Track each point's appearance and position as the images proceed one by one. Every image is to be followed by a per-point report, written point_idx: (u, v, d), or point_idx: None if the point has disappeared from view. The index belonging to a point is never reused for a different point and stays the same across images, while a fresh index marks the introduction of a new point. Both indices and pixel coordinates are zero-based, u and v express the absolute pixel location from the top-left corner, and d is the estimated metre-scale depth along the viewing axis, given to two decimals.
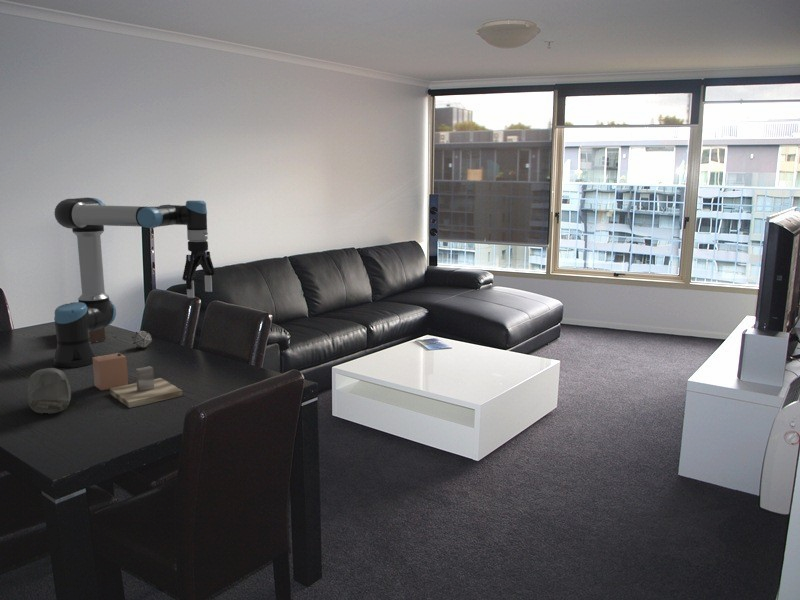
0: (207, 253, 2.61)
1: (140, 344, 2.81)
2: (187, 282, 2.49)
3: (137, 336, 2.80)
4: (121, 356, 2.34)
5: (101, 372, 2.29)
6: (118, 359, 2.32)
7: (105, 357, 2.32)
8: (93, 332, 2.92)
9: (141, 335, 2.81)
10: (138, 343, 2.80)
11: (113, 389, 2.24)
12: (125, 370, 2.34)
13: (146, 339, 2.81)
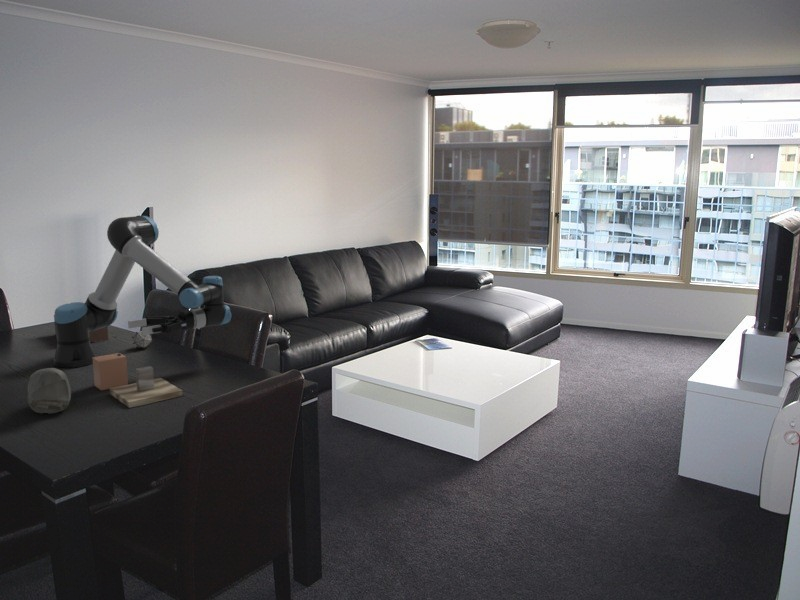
0: None
1: (140, 344, 2.81)
2: (160, 328, 2.35)
3: (137, 336, 2.80)
4: (121, 356, 2.34)
5: (101, 372, 2.29)
6: (118, 359, 2.32)
7: (105, 357, 2.32)
8: (96, 331, 2.93)
9: (141, 335, 2.81)
10: (138, 343, 2.80)
11: (113, 389, 2.24)
12: (125, 370, 2.34)
13: (146, 339, 2.81)
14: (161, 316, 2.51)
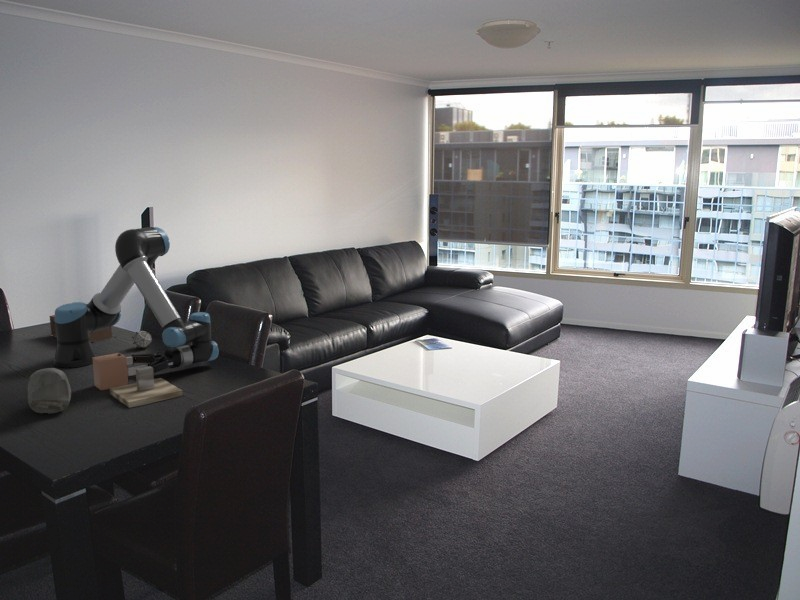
0: None
1: (140, 344, 2.81)
2: None
3: (137, 336, 2.80)
4: (121, 356, 2.34)
5: (101, 372, 2.29)
6: (118, 359, 2.32)
7: (105, 357, 2.32)
8: (101, 330, 2.95)
9: (141, 335, 2.81)
10: (138, 343, 2.80)
11: (113, 389, 2.24)
12: (125, 370, 2.34)
13: (146, 339, 2.81)
14: None
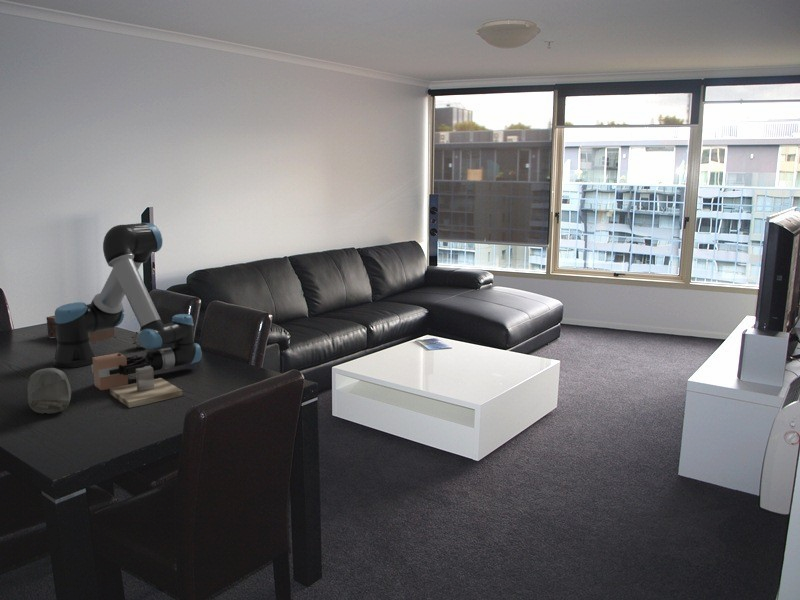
0: None
1: (140, 344, 2.81)
2: (118, 370, 2.31)
3: (137, 336, 2.80)
4: (121, 356, 2.34)
5: None
6: (118, 359, 2.32)
7: (105, 357, 2.32)
8: None
9: None
10: (138, 343, 2.80)
11: (113, 389, 2.24)
12: None
13: None
14: (127, 357, 2.43)
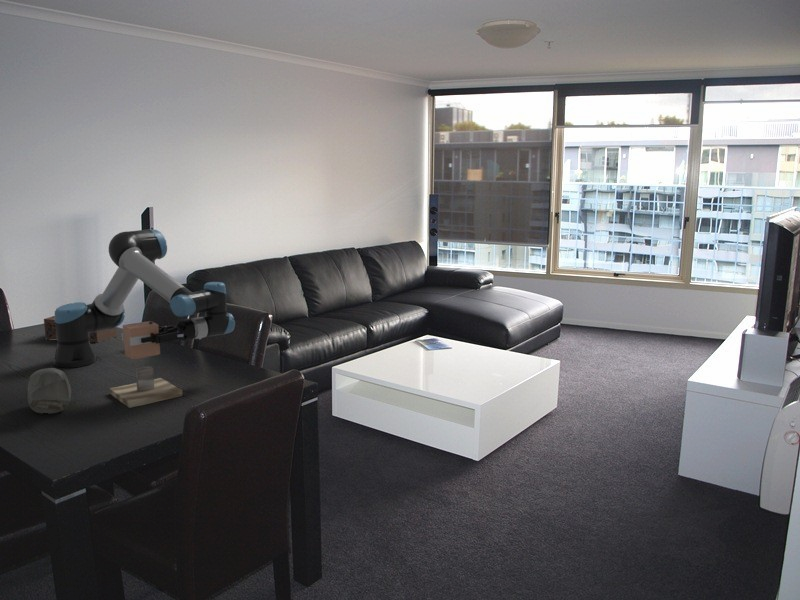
0: None
1: None
2: (150, 338, 2.18)
3: None
4: (153, 324, 2.22)
5: None
6: (150, 327, 2.20)
7: (136, 325, 2.20)
8: None
9: None
10: None
11: (113, 389, 2.24)
12: None
13: None
14: None
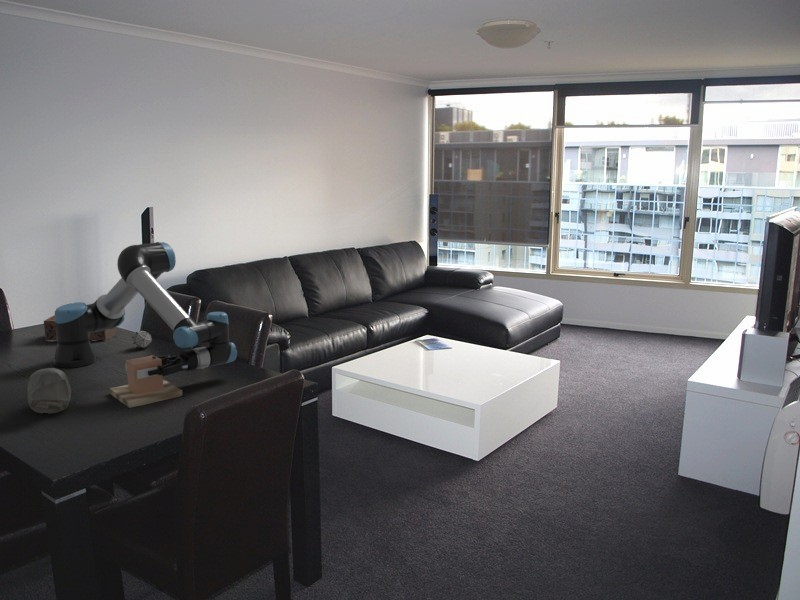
0: None
1: (140, 344, 2.81)
2: (157, 371, 2.20)
3: (137, 336, 2.80)
4: (156, 359, 2.24)
5: (136, 376, 2.18)
6: (153, 362, 2.22)
7: (139, 360, 2.22)
8: None
9: (141, 335, 2.81)
10: (138, 343, 2.80)
11: (113, 389, 2.24)
12: None
13: (146, 339, 2.81)
14: (161, 356, 2.34)
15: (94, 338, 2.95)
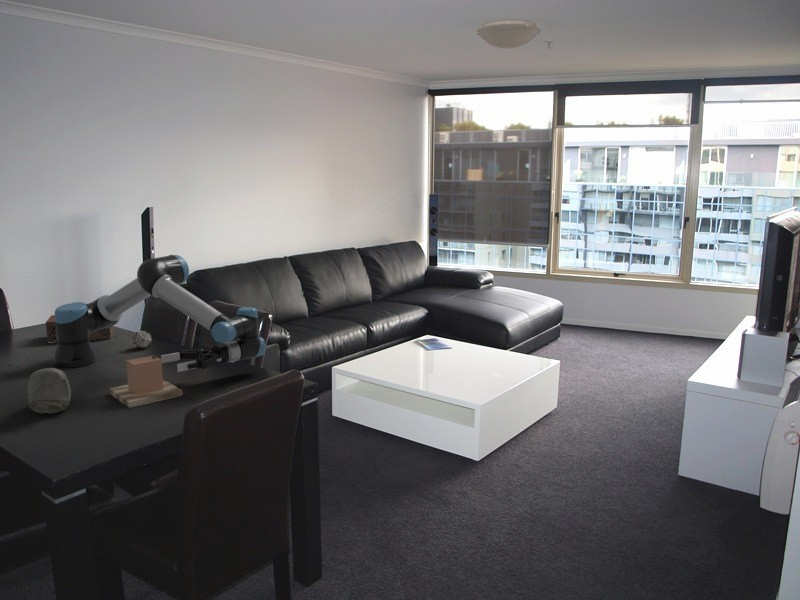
0: None
1: (140, 344, 2.81)
2: (196, 365, 2.27)
3: (137, 336, 2.80)
4: (156, 359, 2.24)
5: (136, 376, 2.18)
6: (153, 362, 2.22)
7: (139, 360, 2.22)
8: None
9: (141, 335, 2.81)
10: (138, 343, 2.80)
11: (113, 389, 2.24)
12: (160, 373, 2.24)
13: (146, 339, 2.81)
14: (194, 349, 2.42)
15: (98, 337, 2.97)
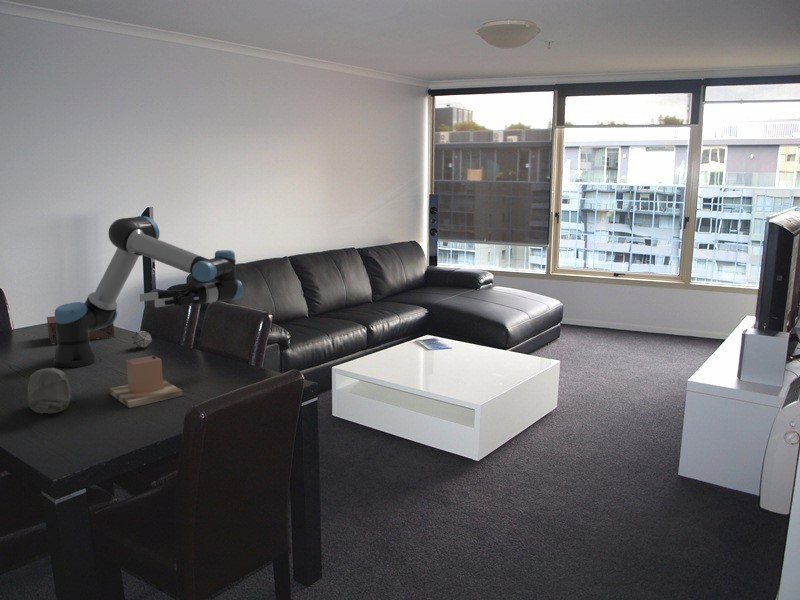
0: None
1: (140, 344, 2.81)
2: (173, 301, 2.33)
3: (137, 336, 2.80)
4: (156, 359, 2.24)
5: (136, 376, 2.18)
6: (153, 362, 2.22)
7: (139, 360, 2.22)
8: None
9: (141, 335, 2.81)
10: (138, 343, 2.80)
11: (113, 389, 2.24)
12: (160, 373, 2.24)
13: (146, 339, 2.81)
14: (173, 290, 2.48)
15: (102, 335, 2.99)
